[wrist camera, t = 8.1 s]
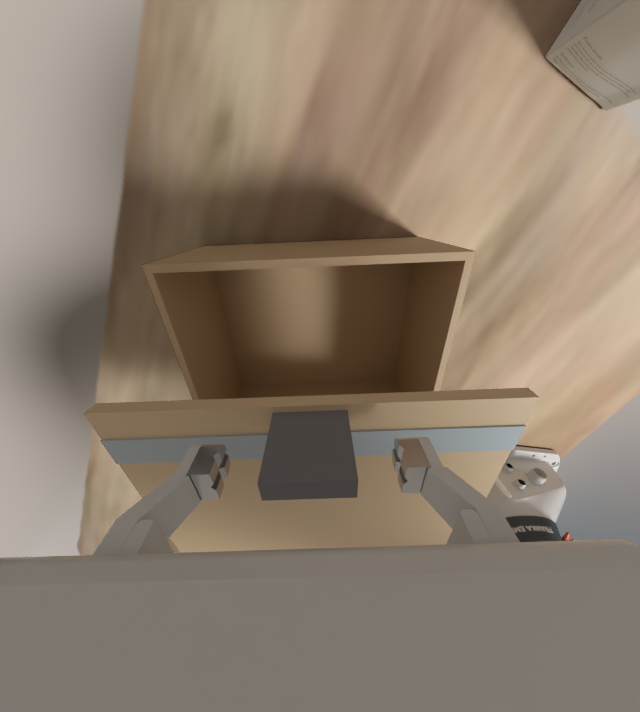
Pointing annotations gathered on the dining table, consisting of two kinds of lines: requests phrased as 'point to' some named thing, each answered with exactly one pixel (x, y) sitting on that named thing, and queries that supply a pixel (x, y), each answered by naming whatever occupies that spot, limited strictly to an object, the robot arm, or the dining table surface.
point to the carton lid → (314, 462)
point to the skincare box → (602, 50)
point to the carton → (312, 315)
